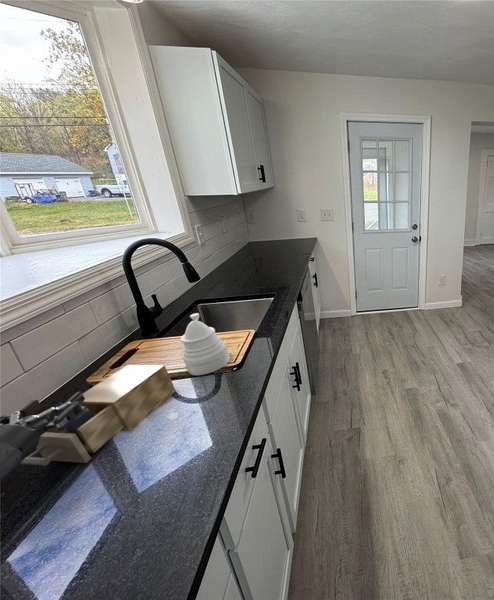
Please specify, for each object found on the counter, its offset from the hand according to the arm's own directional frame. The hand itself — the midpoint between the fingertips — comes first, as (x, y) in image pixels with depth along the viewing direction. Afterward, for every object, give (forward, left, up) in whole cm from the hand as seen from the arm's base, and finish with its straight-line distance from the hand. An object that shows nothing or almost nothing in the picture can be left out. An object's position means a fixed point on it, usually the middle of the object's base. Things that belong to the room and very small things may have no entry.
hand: (59, 399), depth 71 cm
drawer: (0, 0, -14) cm, 14 cm away
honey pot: (+7, +35, -15) cm, 39 cm away
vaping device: (0, +1, -13) cm, 13 cm away
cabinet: (0, +13, -15) cm, 20 cm away
